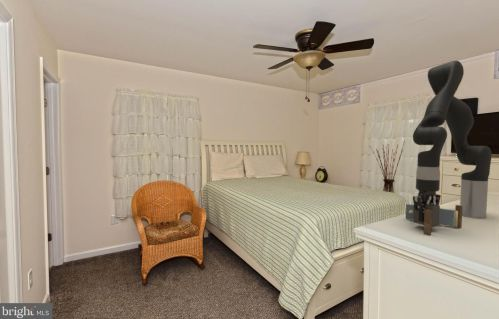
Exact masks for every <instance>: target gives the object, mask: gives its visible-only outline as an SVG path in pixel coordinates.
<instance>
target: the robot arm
mask: <svg viewBox="0 0 499 319" xmlns="http://www.w3.org/2000/svg"><path fill="white" fill-rule="evenodd" d="M464 71H465V70H464V65H463V64H462V62H460V61H459V60H452V61H448V62H446V63H442V64H439V65H437V66H433V67H431V68H429V69H428V72H427V80H428V83H429V85H430V88H431V90H432V91H433V94H434V95H435V96H434V97H432V99H431V100H430V101H429V102H428V104H427V105H426V109H425V113H424V116H423V118H422V119H421V121H420V122H419V124H418V125H417V127H415V129H414V131H413V134H412V140H413V143H414V144H416V145H418V146H432V147H431V149H428V150H424V151H420V152H418V154H417V168H416V174H415V189H416V190H417V191H418V194H417V196H415V195H413V197H412V202H413V203H412V204H413V205H414V209H415V210H416V211H418V212H419V217H418V220H419V221H420V222H424V213H425V210H426V207H428V206H429V204H432V205H439V206H440V201H441V197H442V195H440V194H437V192H439V191H440V185H441V184H440V182H441V169H440V162H441V153H442V151H443V148H444V145H445V143H446V141H447V138H448V131H447V130H446V128H445V127H443V126H442V125H444V123H446V125H447V127H448V130H449V132H450V134H451V138H452V141H453V145H454V148H455V149H454V150H455V153H456V156H457V160H458V162H459V163H460V164H462V165H465V166H475V168H474V169H473V170H471V171H467V172H463V173H461V175H460V176H461V178H460V197H459V198H460V199H459V205H461V206H463V207H462V217H466V218H471V219H484V220H485V219H486V218H487V209H488V208H487V207H488V190H489V189H488V188H489V186H488V185H489V177H490V172H491V171H490V170H491V163H492V150H491V148H490V147H489V146H487V145H470V144H469V143H468V139H467V137H468V136H469V134H470V131H471V130H472V128H473V126H474V122H475V119H474V116H473V113H472V109H471V107H470V106H469V105H468V104H467V103H465V102H464V101H463V100H461V99H459V98H458V97H457V96H455V94H456V92H457V90H458V89H459V86H460V84H461V82H462V81H463V79H464V78H463V77H464V74H465V73H464ZM423 204H425V205H423ZM417 206H418V207H417ZM422 206H423V207H424V208H423V207H422Z"/></svg>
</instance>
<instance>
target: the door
mask: <svg viewBox="0 0 499 319" xmlns="http://www.w3.org/2000/svg"><path fill="white" fill-rule="evenodd" d="M413 209H414V204H412V203H411V204H410V203H409V204H408V203H406V204H405V219H406V220H410V221H411V220H412V221H413ZM457 225H458V211H455V209H447V208H441V207H440V214H439V226H446V227H447V226H448V227H452V228H456V227H457Z"/></svg>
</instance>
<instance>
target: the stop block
mask: <svg viewBox="0 0 499 319" xmlns="http://www.w3.org/2000/svg"><path fill="white" fill-rule="evenodd" d="M423 205H425V204H423ZM417 207H418V206H417ZM422 207H423V206H422ZM423 208H424V207H423ZM440 208H441V205H440V204H439V205H432V204H429V206H428V207H426V210H430V211H432V222H431V229H432V228H436V227H440V224H439V214H440ZM418 217H419V212H418V211H416V210H415V209H413V220H412V223H414V224H417V225H420V226H424V222H420V221H419V220H418Z"/></svg>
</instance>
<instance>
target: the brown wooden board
mask: <svg viewBox="0 0 499 319" xmlns="http://www.w3.org/2000/svg"><path fill="white" fill-rule="evenodd" d="M462 207H463V206H461V205H460V204H455V209H454V210H455V211H458V225H457V227H455V228H456V229H462V226H463V225H462V224H463V216H462ZM431 222H432V211H430V210H425V213H424V225H423V235H426V236H431V235H432V228H431Z"/></svg>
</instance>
